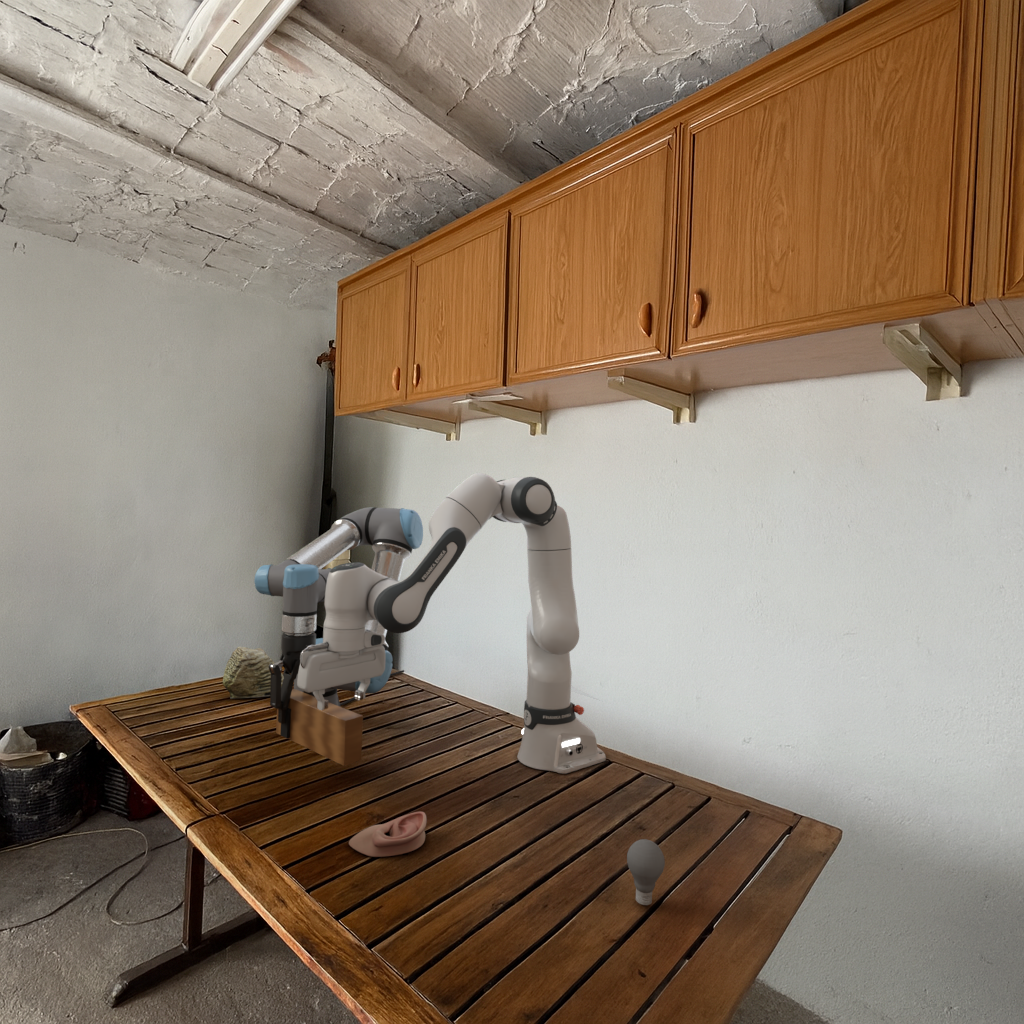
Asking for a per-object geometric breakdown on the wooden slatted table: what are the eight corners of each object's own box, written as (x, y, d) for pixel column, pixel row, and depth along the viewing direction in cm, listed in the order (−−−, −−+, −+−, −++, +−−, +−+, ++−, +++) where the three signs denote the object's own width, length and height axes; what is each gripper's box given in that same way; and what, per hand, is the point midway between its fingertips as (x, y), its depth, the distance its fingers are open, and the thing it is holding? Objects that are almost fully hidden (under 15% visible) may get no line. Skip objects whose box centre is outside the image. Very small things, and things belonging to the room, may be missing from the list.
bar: (275, 733, 147) (277, 692, 146) (293, 728, 150) (294, 688, 150) (343, 766, 130) (345, 720, 130) (361, 759, 134) (363, 715, 134)
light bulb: (620, 891, 105) (623, 832, 105) (655, 891, 106) (658, 832, 106) (630, 915, 99) (633, 852, 99) (667, 914, 100) (670, 852, 100)
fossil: (218, 695, 195) (220, 647, 195) (278, 685, 208) (279, 640, 207) (228, 703, 189) (230, 653, 188) (289, 692, 201) (290, 645, 201)
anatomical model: (341, 830, 113) (368, 800, 124) (340, 851, 113) (367, 820, 124) (411, 841, 110) (433, 810, 122) (411, 863, 111) (432, 830, 122)
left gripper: (272, 640, 136) (268, 748, 136) (341, 629, 149) (337, 727, 150) (254, 635, 140) (250, 739, 141) (322, 624, 154) (318, 719, 155)
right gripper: (310, 649, 124) (307, 719, 125) (391, 635, 140) (388, 697, 141) (292, 643, 128) (289, 711, 128) (372, 630, 144) (370, 691, 144)
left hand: (295, 733), depth 145 cm, fingers closed on bar, 4 cm apart
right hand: (341, 704), depth 135 cm, fingers open, 8 cm apart
